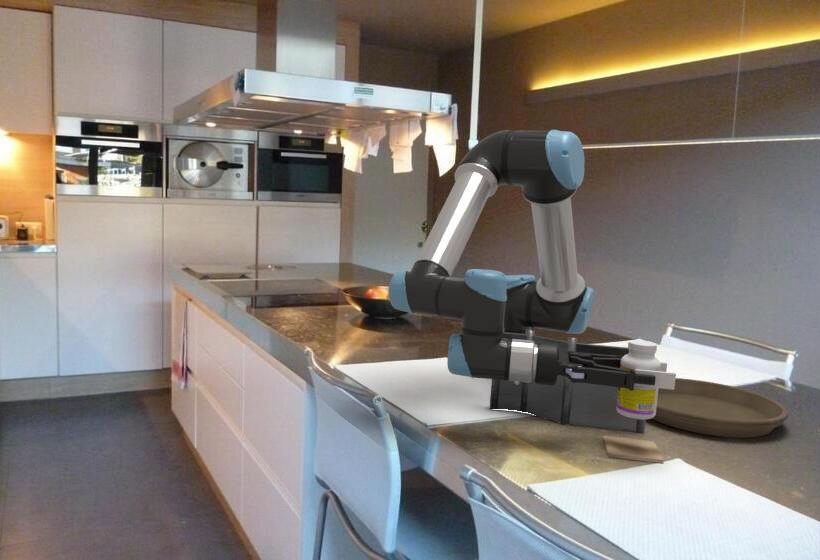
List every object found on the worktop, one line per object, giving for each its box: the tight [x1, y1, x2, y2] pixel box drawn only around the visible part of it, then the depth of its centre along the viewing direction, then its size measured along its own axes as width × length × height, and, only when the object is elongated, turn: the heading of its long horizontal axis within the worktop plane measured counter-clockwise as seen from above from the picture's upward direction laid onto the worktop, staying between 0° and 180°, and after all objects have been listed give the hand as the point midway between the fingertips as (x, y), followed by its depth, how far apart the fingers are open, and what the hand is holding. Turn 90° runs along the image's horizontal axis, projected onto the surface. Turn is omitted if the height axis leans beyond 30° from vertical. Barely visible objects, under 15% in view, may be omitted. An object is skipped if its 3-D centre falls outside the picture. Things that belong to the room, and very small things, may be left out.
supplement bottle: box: [616, 339, 661, 420], centre depth 118 cm, size 7×7×13 cm
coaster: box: [602, 435, 665, 464], centre depth 120 cm, size 9×9×1 cm
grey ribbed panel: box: [489, 328, 647, 434], centre depth 134 cm, size 6×30×17 cm, turn 80°
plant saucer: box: [650, 377, 789, 439], centre depth 143 cm, size 31×31×5 cm
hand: (669, 375), depth 117 cm, fingers closed on supplement bottle, 7 cm apart
